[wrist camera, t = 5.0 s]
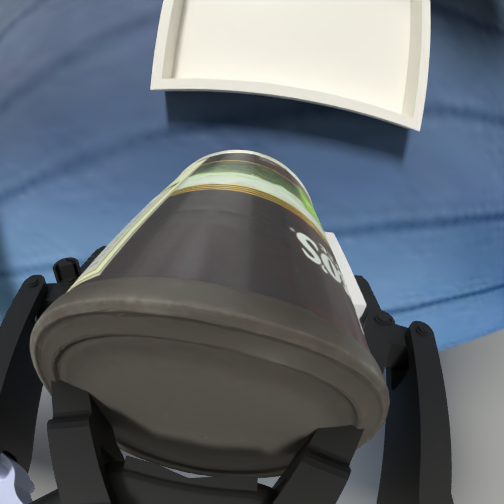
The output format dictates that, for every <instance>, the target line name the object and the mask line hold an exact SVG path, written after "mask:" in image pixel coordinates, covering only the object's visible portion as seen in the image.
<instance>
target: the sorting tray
mask: <svg viewBox="0 0 504 504" xmlns="http://www.w3.org/2000/svg"><path fill="white" fill-rule="evenodd" d="M430 23H431V20H430V0H164V2H163V6H162V11H161V16H160V22H159V27H158V33H157V40H156V46H155V53H154V61H153V69H152V79H151V89H150V90H159V91H209V92H227V93H240V94H251V95H260V96H269V97H276V98H283V99H290V100H296V101H302V102H307V103H312V104H318V105H322V106H327V107H332V108H336V109H340V110H345V111H349V112H353V113H356V114H360V115H364V116H368V117H371V118H375V119H378V120H381V121H384V122H388V123H391V124H394V125H397V126H400V127H403V128H407V129H412V130H416V131H420V127H421V121H422V115H423V109H424V102H425V95H426V87H427V78H428V67H429V54H430Z"/></svg>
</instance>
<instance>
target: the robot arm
mask: <svg viewBox="0 0 504 504" xmlns="http://www.w3.org/2000/svg"><path fill="white" fill-rule="evenodd" d="M324 233H325V235H326V237H327V240H328V242H329V245H330V247H331V249H332V251H333V254H334V256H335V259H336V261H337V263H338V266H339V268H340V271H341V273H342V275H343V278H344V281H345V284H346V286H347V288H348V290H349V294H350V296H351V299H352V302H353V304H354V307H355V309H356V312H357V315H358V318H359V321H360V324H361V327H362V330H363V332H364V335H365V339H366V342H367V345H368V347H369V350H370V352H371V354H372V356H373V357H374V359H375V360H376V362H377V364H378V365H379V367H380V370H381V372H382V375H383V371H384V368H385V367H386V381H387V382H386V385H387V388H388V390H389V399H390V404H389V410H388V414H387V417H386V424H385V441H384V452H383V463H382V471H381V478H380V485H379V492H378V498H377V504H454V503H453V499H452V495H451V477H452V476H451V475H452V473H451V470H452V466H451V465H452V463H451V438H450V425H449V415H448V407H447V399H446V392H445V386H444V380H443V374H442V369H441V364H440V359H439V354H438V349H437V345H436V341H435V337H434V333H433V331H432V329H431V328H430V327H429V326H428V325H427V324H425V323H423V322H421V321H414V322H412V323H411V325H410V326H409V328H407V327H403V326H400V325H397V324H395V321H394V319H393V317H392V316H391V315H389V314H388V313H386V312H385V311H382V310H381V309H380V306H379V304H378V302H377V300H376V298H375V296H374V295H373V292H372V290H371V288H370V286H369V283H368V282H367V281H366V280H365V279H364V278H363V277H362V276H357V275H353V273H352V271H351V268H350V266H349V264H348V262H347V260H346V258H345V256H344V254H343V251H342V249H341V247H340V245H339V243H338V241H337V239H336V237H335V235H334V233H330V232H324ZM106 247H107V246H103V247H101V248H99V249H97V250H96V251H95V252H94V253H93V254H92V255H91V257H89V258H88V260H87V261H86V262H85V263H84V264H83V265H82V266H81V267H80V266H79V262H78V260H77V259H76V258H72V257H71V258H64V259H61V260H59V261H57V262H56V263H55V264H54V266H53V271H54V274H55V277H56V281H57V283H50V284H46V282H45V279H44V277H43V276H42V275H33V276H30V277H29V278H27V279H26V280H25V281H24V283H23V284H22V286H21V288H20V289H19V291H18V293H17V295H16V296H15V298H14V300H13V302H12V304H11V306H10V308H9V310H8V312H7V314H6V316H5V318H4V320H3V322H2V324H1V326H0V504H336V501H337V500H338V498H339V496H340V494H341V492H342V491H343V489H344V487H345V485H346V482H347V481H348V478H349V476H350V472H351V469H350V467H349V465H350V462H351V459H352V457H353V455H354V452H355V450H356V448H357V446H358V443H359V441H360V438H361V436H362V433H363V431H364V428H363V429H357V428H356V427H355V426H353V425H346V426H338V427H326V428H318V429H317V430H316V431H315V432H314V434H313V435H312V436H311V437H310V439H309V440H308V441H307V442H306V443H305V444H304V446H303V447H302V448H301V449H300V450H299V451H298V453H297V454H296V455H295V456H294V458H293V460H292V461H291V463H290V464H289V466H288V467H287V469H286V470H285V471H284V473H283V474H282V475H281V477H280V478H279V479H278V481H277V482H276V483H275V485H274V486H273V487H272V488H271V487H268V486H266V485H263V484H259V483H257V479H258V478H250V477H235V476H225V475H224V476H214V477H202V478H187V477H184V476H182V475H180V474H177V473H175V472H173V471H171V470H169V469H166V468H164V467H162V466H160V465H158V464H155V463H151V462H147V461H144V460H140V459H136V458H133V457H130V456H126V459H125V460H124V457H123V455H122V453H121V451H120V449H119V447H118V445H117V442H116V438H115V435H114V431H113V427H112V426H111V424H110V423H109V422H108V420H107V419H106V417H105V416H104V415H103V413H102V412H101V410H100V409H99V407H98V406H97V404H96V403H95V401H94V400H93V398H92V397H91V395H90V393H89V392H88V391H85V390H83V389H80V388H78V387H75V386H73V385H71V384H69V383H67V382H64V381H63V380H59V381H56V382H55V381H52V380H51V390H52V406H53V419H51V420H49V421H48V423H47V432H48V439H49V447H50V453H51V459H52V465H53V470H54V475H55V479H56V483H57V487H58V489H56V490H54V491H52V492H51V493H49V494H47V495H45V496H43V497H41V498H39V499H37V500H35V501H32V499H31V495H30V493H32V492H33V491H34V489H35V488H34V484H33V482H32V481H31V480H30V478H29V475H28V471H29V467H30V463H31V459H32V451H33V441H34V433H35V426H36V419H37V413H38V407H39V401H40V396H41V392H42V387H43V383H42V381H41V380H40V378H39V376H38V374H37V372H36V370H35V368H34V365H33V362H32V358H31V353H30V337H31V333H32V330H33V328H34V326H35V324H36V323H37V321H38V319H39V318H40V316H41V315H42V314H43V313H44V312H45V310H46V309H47V308H48V307H49V306H50V305H51V304H52V303H53V302H54V301H55V300H56V299H58V298H59V297H60V296H61V295H63V294H65V293H66V292H67V291H68V290H69V289H70V288H71V286H72V285H73V284H74V283H75V282H76V280H77V279H78V278H79V277H80V276H81V275H82V273H83V272H84V271H85V270H86V269H87V268H88V267H89V266H90V264H91V263H92V262H93V261H94V260H95V259H96V258H97V256H98V255H99V254H100V253H101V252H102V251H103V250H104V249H105V248H106ZM35 319H36V320H35Z"/></svg>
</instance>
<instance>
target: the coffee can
mask: <svg viewBox="0 0 504 504" xmlns="http://www.w3.org/2000/svg"><path fill="white" fill-rule="evenodd" d="M30 353H31V358H32V362H33V365H34V368H35V370H36V372H37V374H38V376H39V378H40V380H41V381H42V383H43V385H44V386H45V387H46V389H47V390H48V392H49V393H50V394H51V396H52V390H51V380H52V381H55V382H56V381H59V380H63V381H64V382H67V383H69V384H71V385H73V386H75V387H78V388H80V389H83V390H85V391H88V392H89V393H90V395H91V397H92V398H93V400H94V401H95V403H96V404H97V406H98V407H99V409H100V410H101V412H102V413H103V415H104V416H105V417H106V419H107V420H108V422H109V423H110V424H111V426H112V427H113V431H114V435H115V438H116V442H117V445H118V447H119V449H121V450H123V451H125V452H128V453H130V454H132V455H134V456H136V457H139V458H141V459H144V460H146V461H149V462H152V463H155V464H158V465H161V466H164V467H168V468H171V469H176V470H179V471H183V472H188V473H193V474H198V475H206V476H213V477H214V476H224V475H225V476H235V477H250V478H267V477H276V476H281V475H282V474H283V473H284V471H285V470H286V469H287V467H288V466H289V464H290V463H291V461H292V460H293V458H294V456H295V455H296V454H297V453H298V451H299V450H300V449H301V448H302V447H303V446H304V444H305V443H306V442H307V441H308V440H309V439H310V437H311V436H312V435H313V434H314V432H315V431H316V430H317V429H318V428H326V427H338V426H346V425H353V426H355V427H356V428H357V429H363V428H364V431H363V433H362V436H361V438H360V441H359V443H358V446H357V448H359V447H361V446H362V445H364V444H365V443H366V442H368V441H369V440H370V439H371V438H372V437H373V436H374V435H375V434H376V433H377V432H378V431H379V429H380V428H381V426H382V425H383V424H384V421H385V420H386V417H387V414H388V410H389V404H390V399H389V390H388V388H387V385H386V383H385V380H384V378H383V375H382V372H381V370H380V367H379V365H378V364H377V362H376V360H375V359H374V357H373V356H372V354H371V352H370V350H369V347H368V345H367V342H366V339H365V335H364V332H363V330H362V327H361V324H360V321H359V318H358V315H357V312H356V309H355V307H354V304H353V302H352V299H351V296H350V294H349V290H348V288H347V286H346V284H345V281H344V278H343V275H342V273H341V271H340V268H339V266H338V263H337V261H336V259H335V256H334V254H333V251H332V249H331V247H330V245H329V242H328V240H327V237H326V235H325V233H324V230H323V228H322V226H321V224H320V222H319V219H318V217H317V215H316V212H315V210H314V208H313V205H312V202H311V199H310V196H309V194H308V192H307V190H306V189H305V187H304V185H303V184H302V182H301V181H300V180H299V179H298V177H297V176H296V175H295V174H294V173H293V172H292V171H291V170H290V169H288V168H287V167H286V166H285V165H283V164H282V163H280V162H278V161H277V160H275V159H274V158H271V157H269V156H267V155H264V154H261V153H257V152H253V151H246V150H228V151H222V152H217V153H214V154H210V155H207V156H205V157H203V158H201V159H199V160H197V161H196V162H194V163H193V164H191V165H190V166H189V167H188V168H186V169H185V170H184V171H183V172H182V173H181V174H180V175H179V177H178V178H177V179H176V180H175V181H173V182H172V183H171V184H170V185H169V186H168V187H167V188H166V189H164V190H163V191H162V192H161V193H160V194H159V195H158V196H157V197H155V198H154V199H153V200H152V201H151V202H150V203H149V204H148V205H147V206H146V207H145V208H144V209H143V210H142V211H141V212H140V213H139V214H138V215H136V216H135V217H134V218H133V219H132V220H131V221H130V222H129V223H128V224H127V225H126V227H125V228H124V229H123V230H122V231H121V232H120V233H119V234H118V235H117V236H116V237H115V238H114V239H113V240H112V241H111V242H110V243H109V244H108V245H107V247H106V248H105V249H104V250H103V251H102V252H101V253H100V254H99V255H98V256H97V258H96V259H95V260H94V261H93V262H92V263H91V264H90V266H89V267H88V268H87V269H86V270H85V271H84V272H83V273H82V275H81V276H80V277H79V278H78V279H77V280H76V282H75V283H74V284H73V285H72V286H71V288H70V289H69V290H68V291H67V292H66V293H65V294H63V295H61V296H60V297H59V298H58V299H56V300H55V301H54V302H53V303H52V304H51V305H50V306H49V307H48V308H47V309H46V310H45V312H44V313H43V314H42V315H41V316H40V318H39V319H38V321H37V323H36V324H35V326H34V328H33V330H32V333H31V337H30ZM357 448H356V449H357Z"/></svg>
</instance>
